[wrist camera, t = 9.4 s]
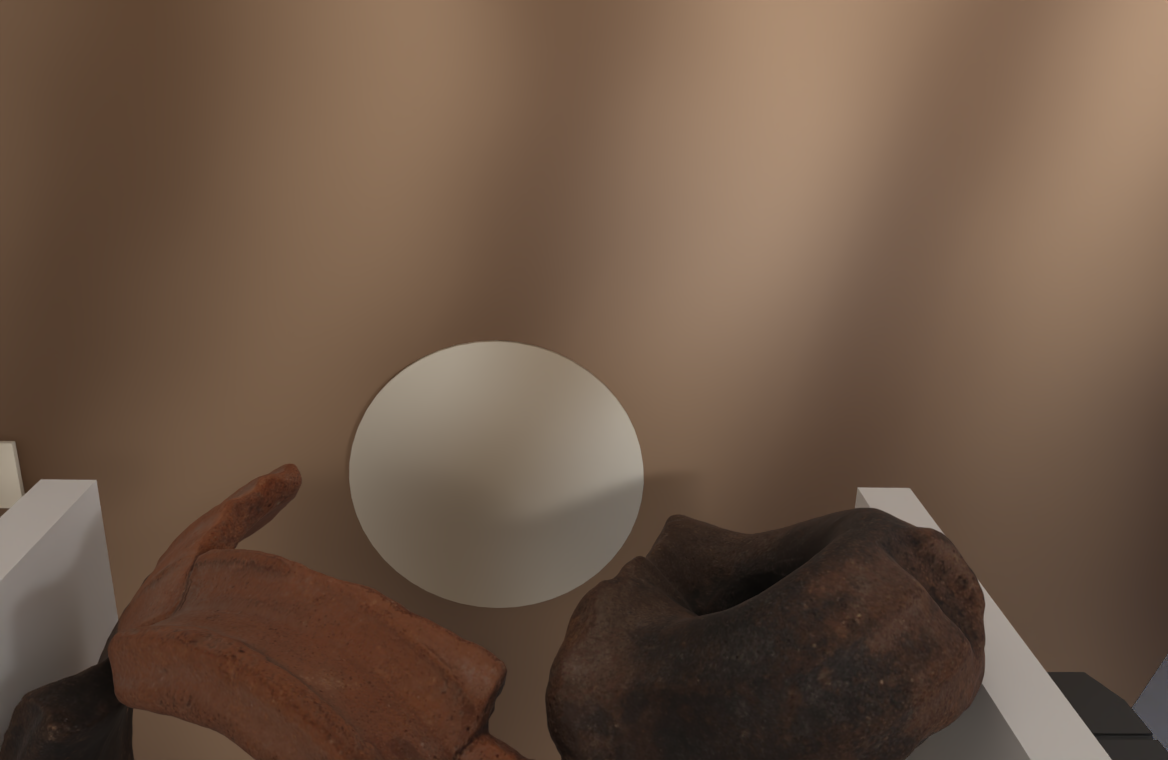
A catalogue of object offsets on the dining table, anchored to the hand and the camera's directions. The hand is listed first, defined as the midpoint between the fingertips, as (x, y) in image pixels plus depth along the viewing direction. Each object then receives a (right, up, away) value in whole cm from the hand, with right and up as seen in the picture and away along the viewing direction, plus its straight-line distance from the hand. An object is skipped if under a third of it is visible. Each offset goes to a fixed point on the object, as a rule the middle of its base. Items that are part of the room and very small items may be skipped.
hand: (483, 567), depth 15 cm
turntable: (0, +1, +4) cm, 4 cm away
